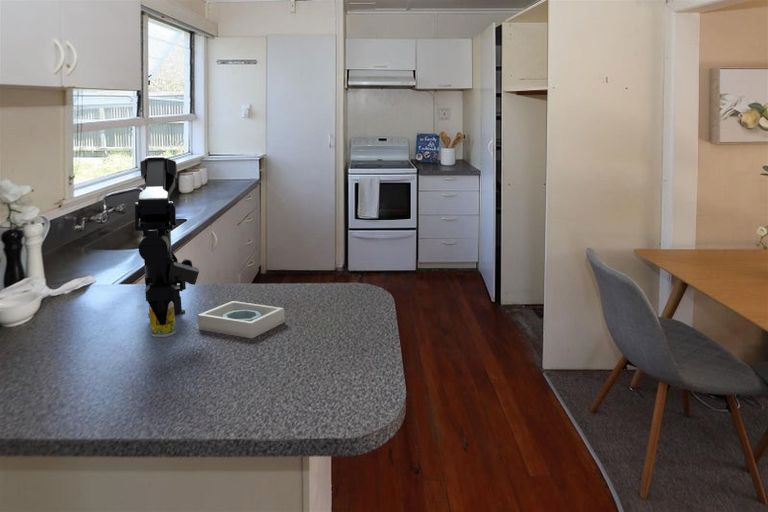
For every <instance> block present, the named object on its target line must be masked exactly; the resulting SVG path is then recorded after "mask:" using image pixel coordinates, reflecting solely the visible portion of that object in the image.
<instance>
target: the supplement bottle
mask: <svg viewBox="0 0 768 512" xmlns="http://www.w3.org/2000/svg"><path fill="white" fill-rule="evenodd" d="M148 314H149V316H148V317H149V325H150V327H149V328H150V335H151V336H152V337H154V338H167V337H170V336H174V335H175V334H176V332H177V331H176V316H175V314H174V304H173V302H172V301H171V302H170V303H169V306H168V312H167V318H166V324H165V325H160V323H159V322H158V320H157V318H156V316H155V314H154V312H153V310H152V309H151V307H150V305H149V304H148Z"/></svg>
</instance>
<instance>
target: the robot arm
mask: <svg viewBox="0 0 768 512" xmlns="http://www.w3.org/2000/svg"><path fill="white" fill-rule="evenodd" d="M139 163H140V165H139V166H140V177H141V179H142V180H144V184H145V188H144V190H142V191H141V192H140V193H138V198H137V200H138V201H137V202H134V203H135V204H134V221H135V222H134V223H135V224H134V230H135V232H142V239H141V240H140V242H139V245H138V254H139V256H140V257H141V259H142V260H144V261H143V262H144V285H145V290H144V291H145V292H144V293H145V301H146V302H147V303H148V306H149V305H150V307H151V309H152V310H153V312H154V314H155V316H156V318H157V320H158V322H159V323H160V325H165V324H166V318H167V312H168V306H169V303H170V302H171V301H172V302H173V304H174V314H175V317H176V316H179V315H181V314H182V315H183V313H184V314H185V313H186V309H183V307H182V296H181V293H180V292H183V291H184V290H186V289H187V286H186V283H188V284H189V285H192V286H193V285H196V283H197V280H198V278H199V274H200V270H199V268H198V267H196V266H193V262H192V260H191V259H187V258H184V259H183V260H182V262H179V261H178V258H177V257H176V255H175V253H174V252H173V250H172V234H171V233H172V232H171V230H174V226H177V211H176V210H177V208H176V206H175V205H174V202H173V201H170V196H171V194H172V193H173V191H174V189H175V188H176V179H178V167H177V165H178V164H177V161H176V160H173V159H170V158H168V156H165V155H148V156H146V157H144V160H141V161H140V162H139ZM148 317H150V316H149V313H148Z"/></svg>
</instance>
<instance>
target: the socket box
mask: <svg viewBox="0 0 768 512" xmlns="http://www.w3.org/2000/svg"><path fill="white" fill-rule="evenodd" d="M197 322H198V323H197V324H198V330H201V331H207V332H212V333H217V334H218V333H219V334H223V335H230V336H236V337H241V338H248V339H254V338H255V337H257V336H260V335H261V334H265V333H266V332H267V331H271V330H272V329H274V328H276V327H278V326H279V325H281V324H284V323H285V308H284V307H278V306H271V305H264V304H257V303H256V304H255V303H250V302H243V301H236V300H232V301H229V302H226V303H224V304H222V305H219V306H216V307H214V308H211V309H209V310H207V311H204V312H201V313H199V314H197Z"/></svg>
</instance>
